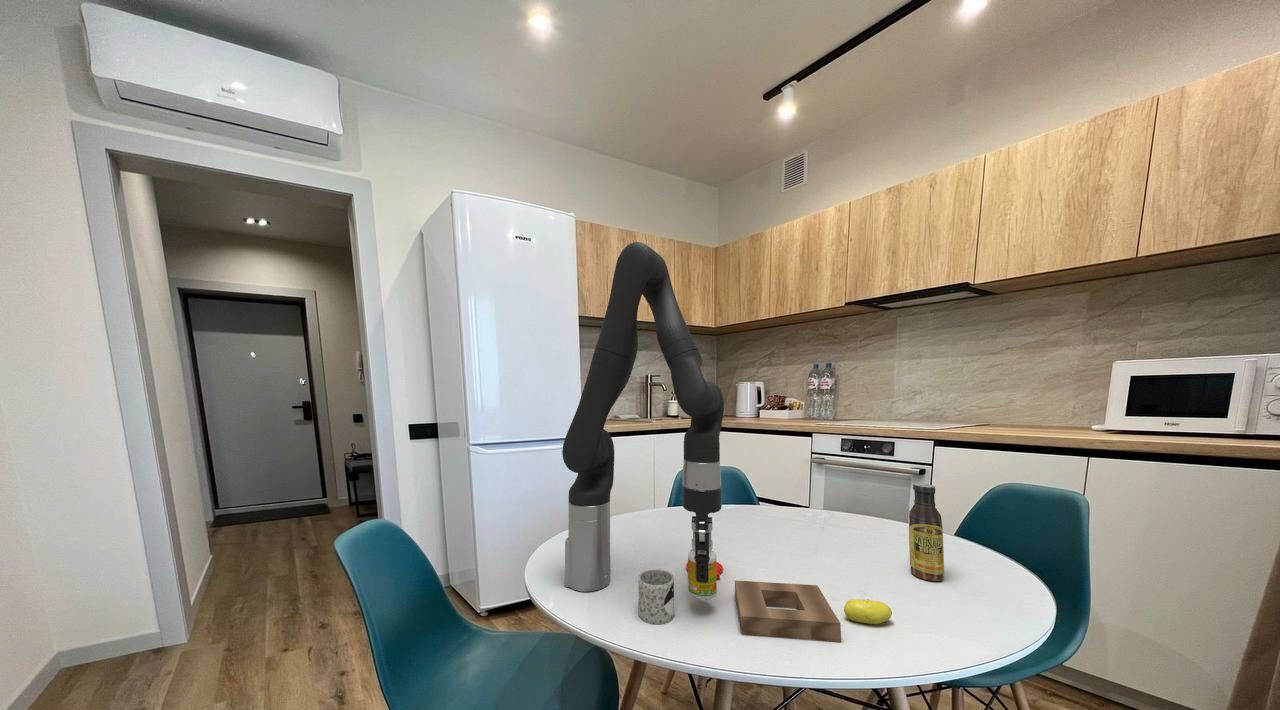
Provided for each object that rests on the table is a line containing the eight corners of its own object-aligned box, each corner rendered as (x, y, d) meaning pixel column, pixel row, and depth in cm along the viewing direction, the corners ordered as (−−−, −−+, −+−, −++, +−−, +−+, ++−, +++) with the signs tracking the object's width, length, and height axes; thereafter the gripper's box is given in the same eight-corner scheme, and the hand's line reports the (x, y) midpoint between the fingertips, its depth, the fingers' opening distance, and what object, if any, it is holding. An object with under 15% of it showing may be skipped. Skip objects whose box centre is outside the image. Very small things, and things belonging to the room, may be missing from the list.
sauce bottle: (914, 580, 86) (907, 486, 88) (907, 568, 92) (901, 480, 94) (951, 585, 84) (943, 488, 86) (941, 573, 89) (934, 482, 91)
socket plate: (741, 634, 68) (741, 616, 68) (734, 595, 80) (734, 580, 81) (841, 642, 65) (840, 623, 65) (818, 601, 78) (817, 585, 78)
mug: (673, 626, 70) (672, 587, 71) (636, 623, 71) (635, 584, 72) (676, 597, 80) (676, 563, 81) (644, 595, 81) (643, 561, 82)
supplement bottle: (699, 602, 72) (698, 547, 73) (682, 589, 77) (682, 537, 78) (722, 596, 75) (722, 542, 75) (705, 583, 79) (704, 533, 80)
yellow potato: (841, 613, 74) (839, 591, 74) (888, 617, 72) (886, 595, 73) (848, 626, 70) (846, 603, 70) (898, 631, 68) (896, 607, 69)
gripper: (684, 475, 85) (684, 557, 84) (680, 492, 71) (680, 591, 69) (719, 476, 84) (720, 559, 82) (723, 494, 70) (724, 594, 68)
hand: (702, 573), depth 76 cm, fingers closed on supplement bottle, 5 cm apart
